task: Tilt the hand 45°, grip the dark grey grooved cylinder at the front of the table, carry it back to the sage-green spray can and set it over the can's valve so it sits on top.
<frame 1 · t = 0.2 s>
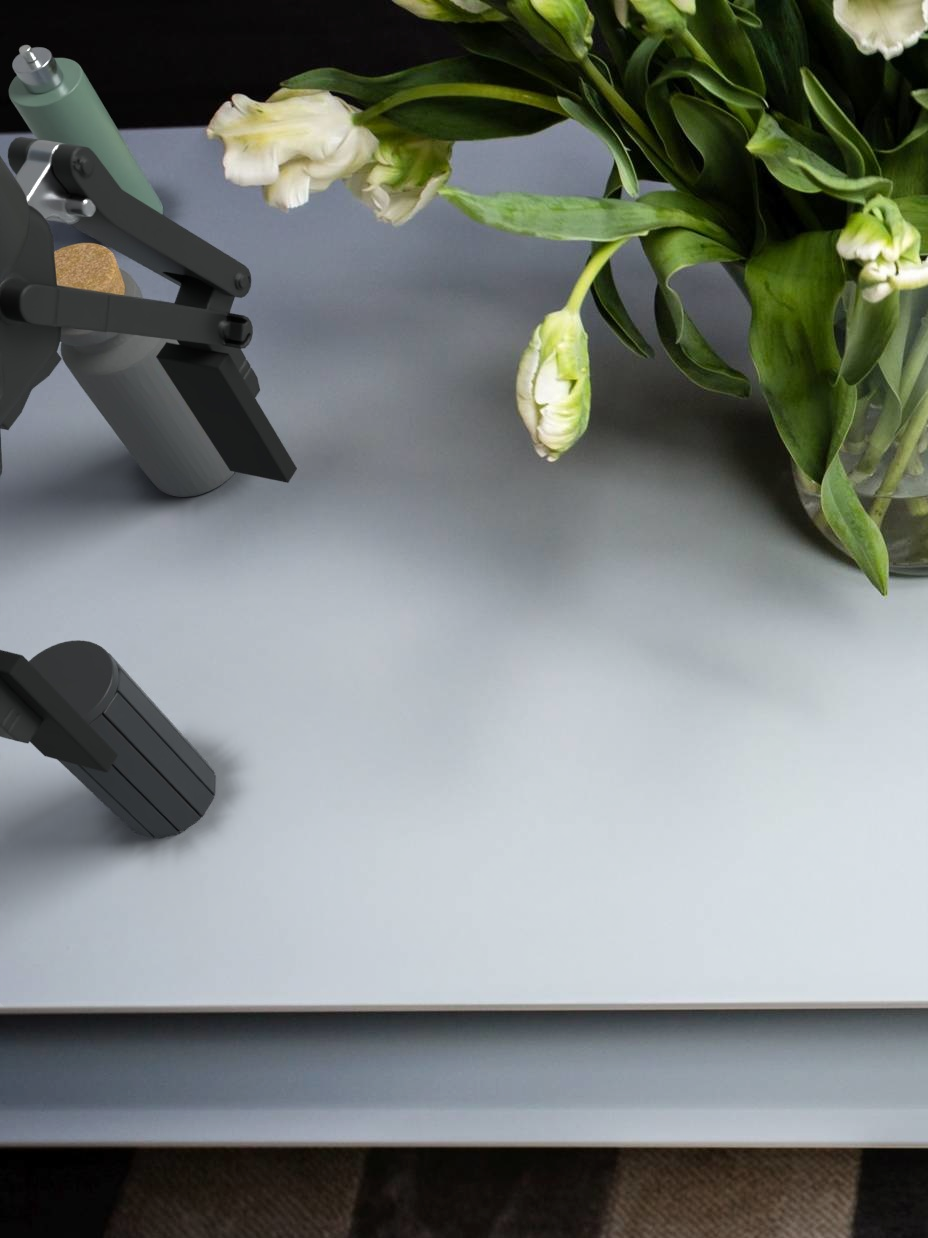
hand: (178, 605, 62), 23 cm above the table, tool pointing down, fingers open, 13 cm apart
spray can: (130, 218, 109), on the table
bottle: (199, 461, 97), on the table
dark grey grooved cylinder: (169, 795, 85), on the table
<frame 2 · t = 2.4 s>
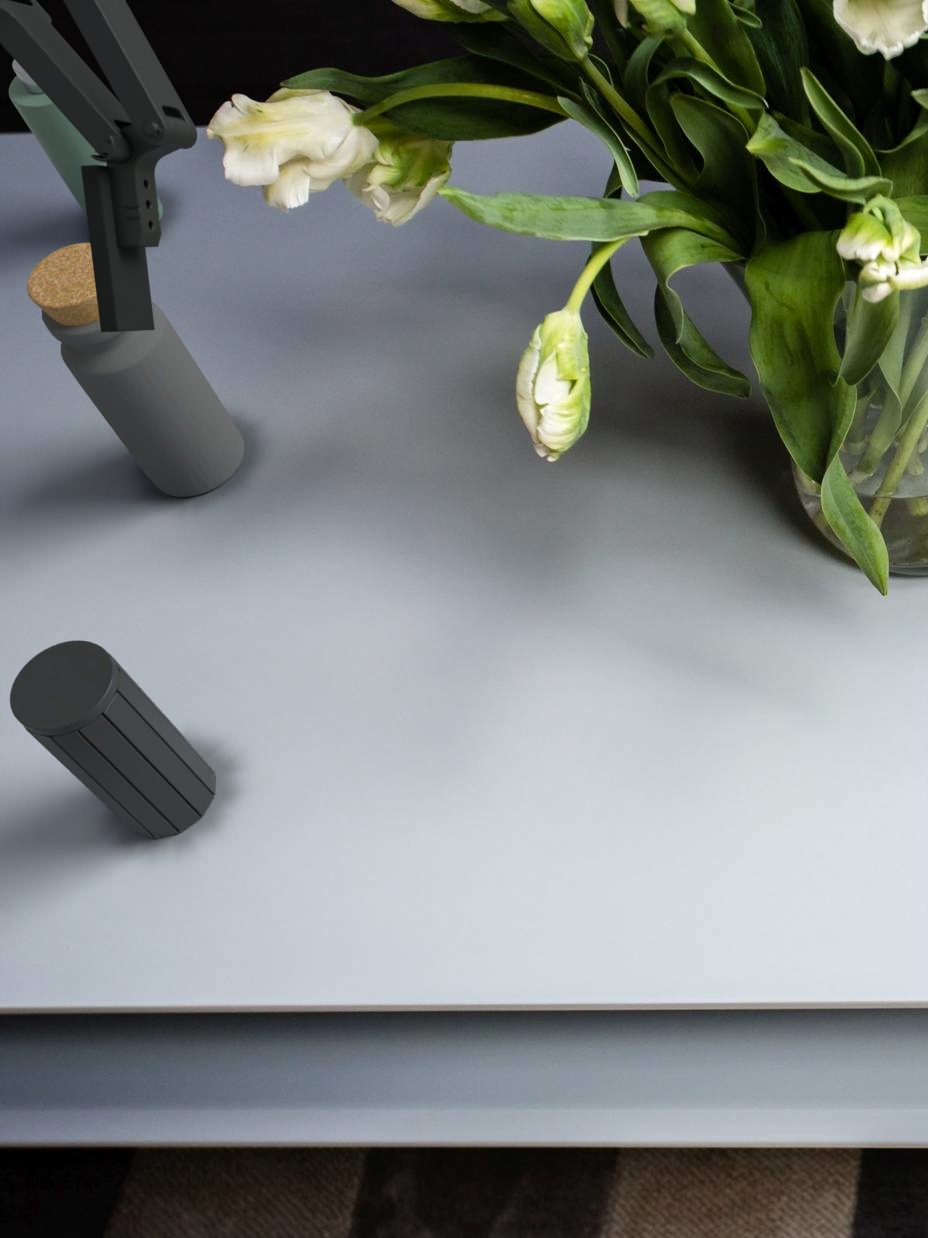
nothing on the table moved.
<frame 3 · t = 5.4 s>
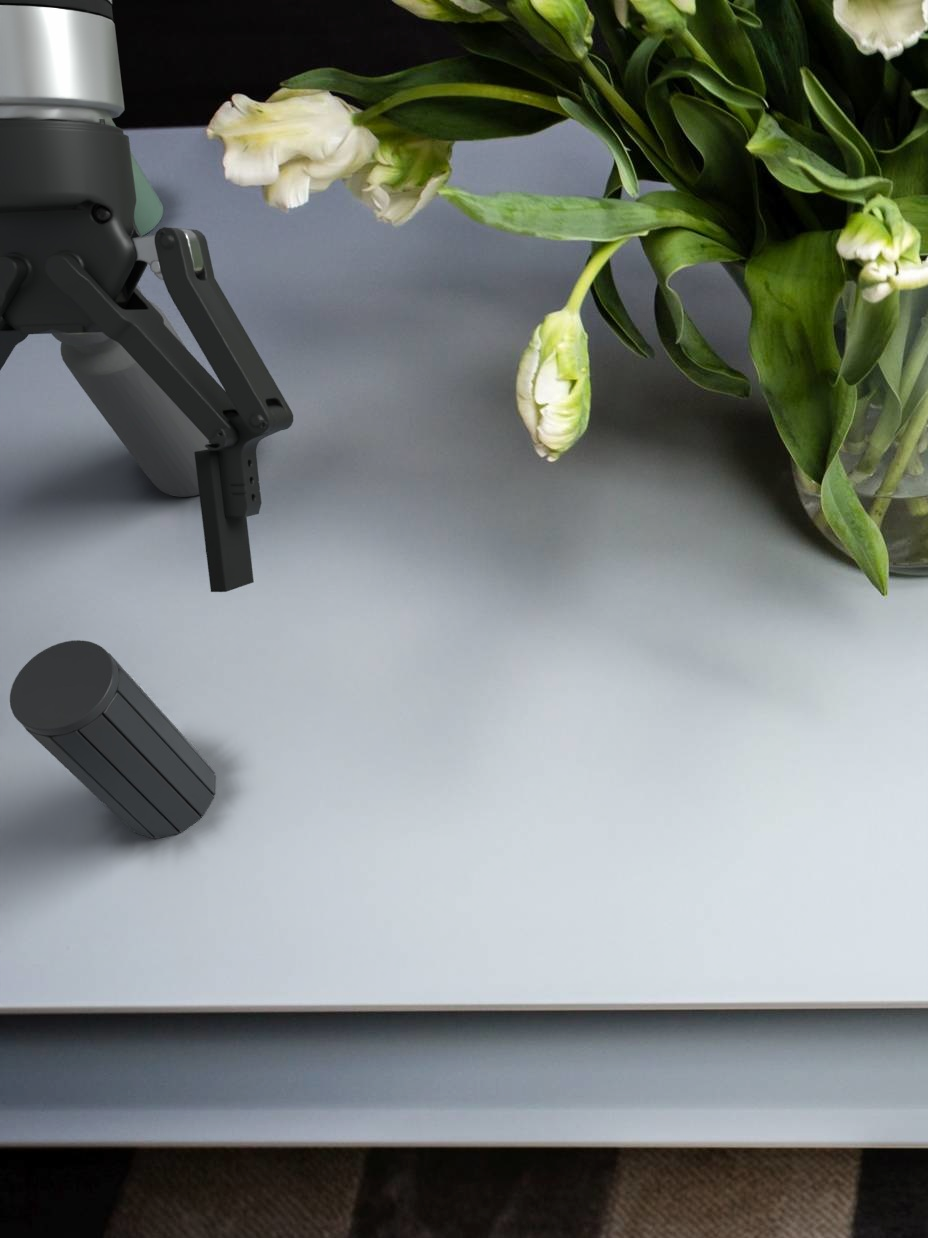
hand: (98, 589, 78), 11 cm above the table, tool tilted 45°, fingers open, 13 cm apart
nothing on the table moved.
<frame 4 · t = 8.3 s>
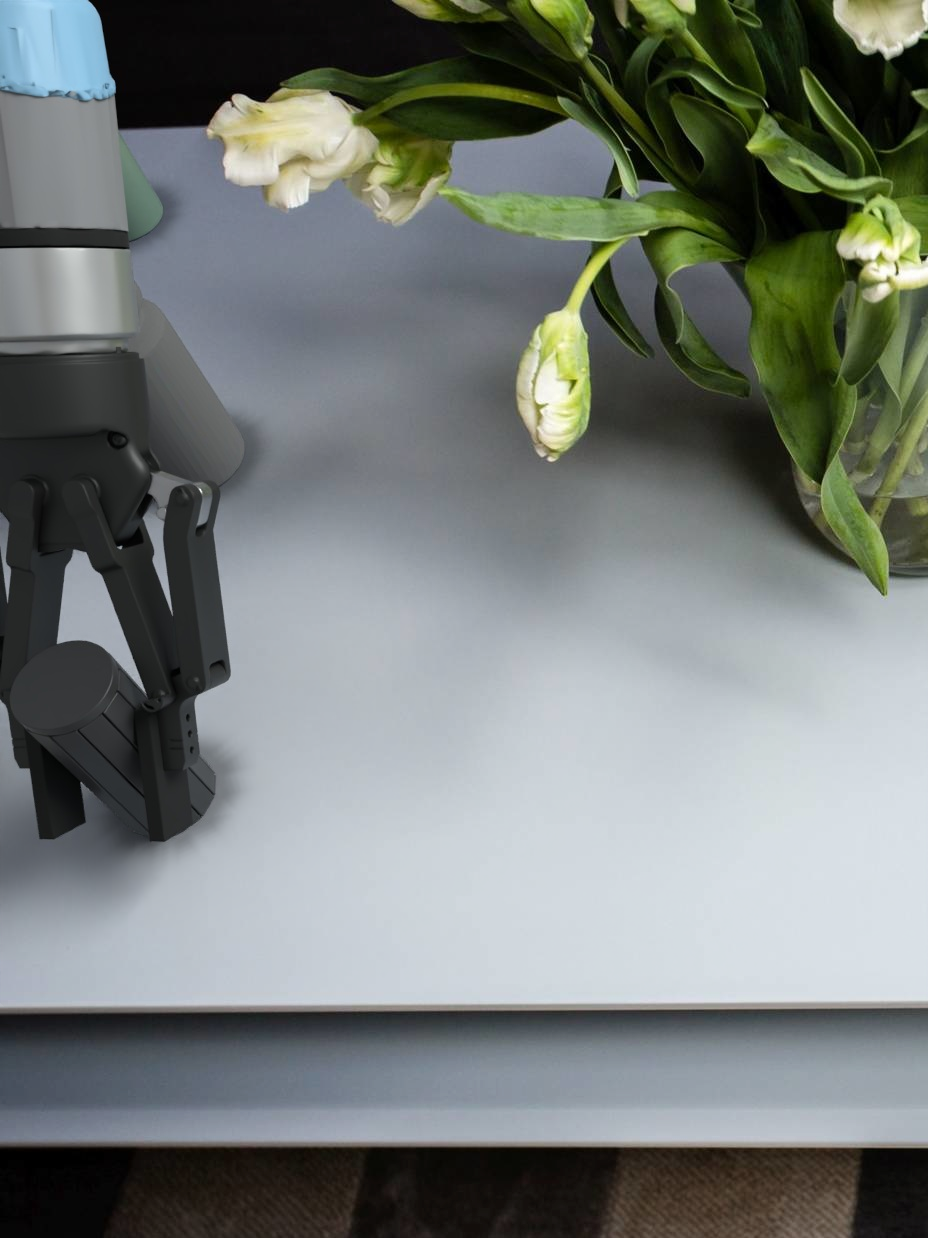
hand: (117, 830, 80), 3 cm above the table, tool tilted 45°, fingers closed on dark grey grooved cylinder, 5 cm apart
dark grey grooved cylinder: (169, 795, 85), on the table, touching gripper
everything else where it was.
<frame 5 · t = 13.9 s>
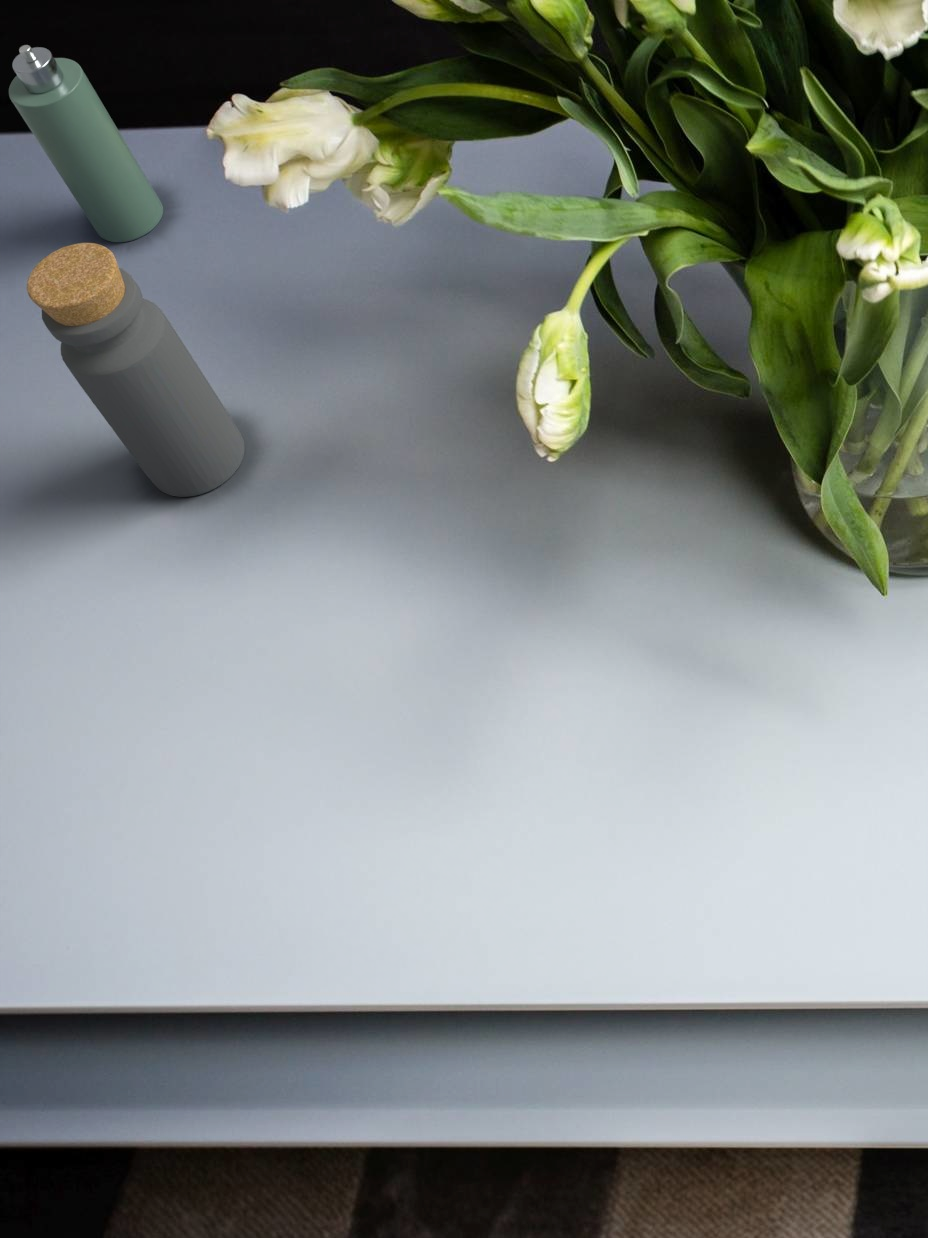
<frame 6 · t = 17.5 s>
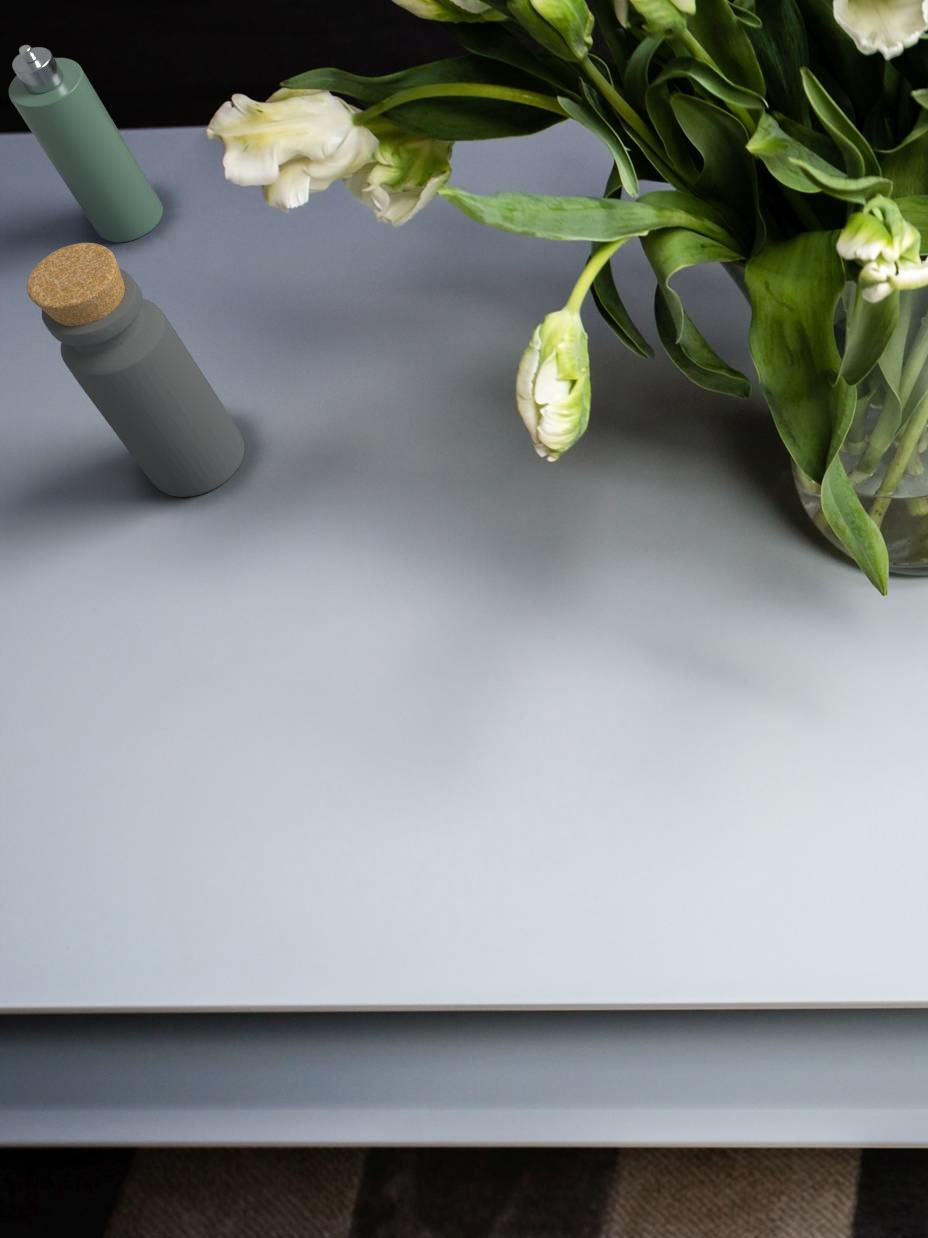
when the fingers open (14 cm above the table, at t = 19.9 s): dark grey grooved cylinder stays where it is, resting on spray can.
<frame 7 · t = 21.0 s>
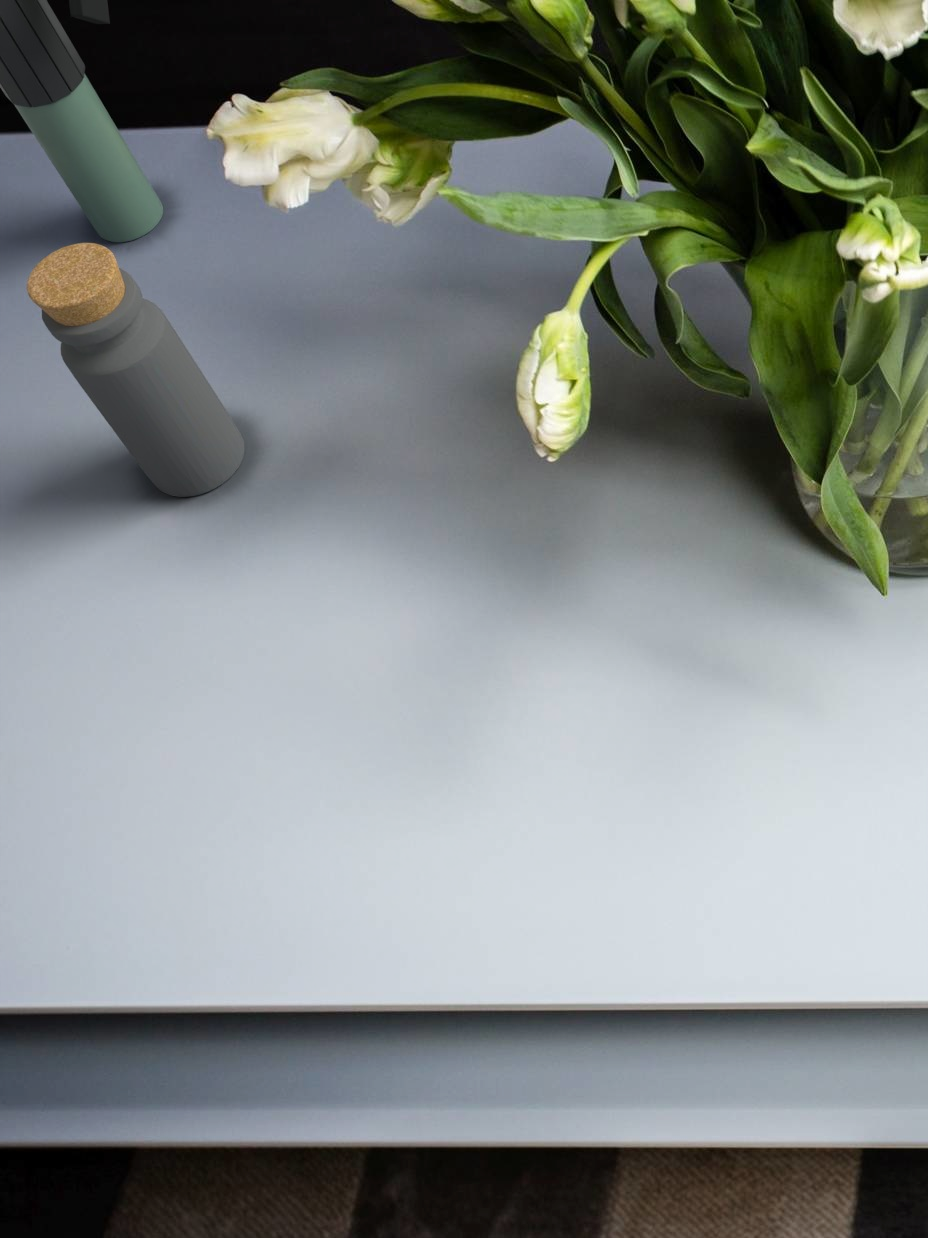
spray can: (130, 218, 109), on the table, touching dark grey grooved cylinder
dark grey grooved cylinder: (45, 81, 100), point 11 cm above the table, touching spray can
everything else where it was.
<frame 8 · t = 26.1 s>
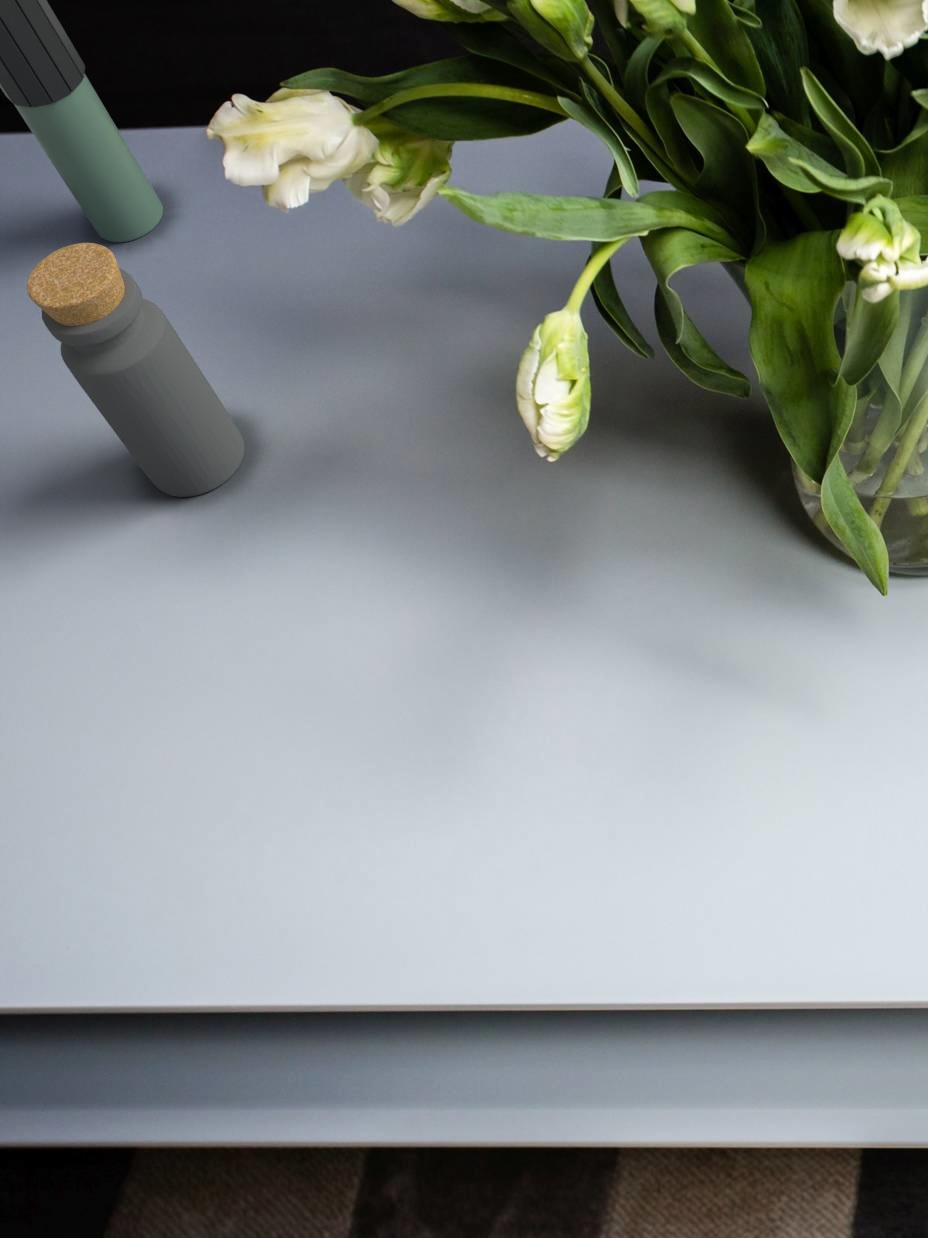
nothing on the table moved.
at the end: dark grey grooved cylinder 0.1 cm off-centre on the spray can, point 11.0 cm above the spray can's base; dark grey grooved cylinder tilted 0°; the gripper is holding nothing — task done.
